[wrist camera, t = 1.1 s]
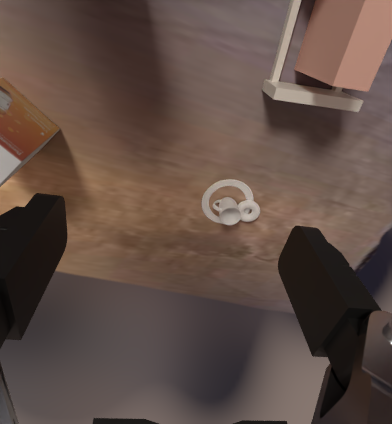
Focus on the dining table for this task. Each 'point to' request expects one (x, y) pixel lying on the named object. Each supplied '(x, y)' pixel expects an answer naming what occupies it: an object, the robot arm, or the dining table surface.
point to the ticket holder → (301, 92)
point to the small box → (20, 130)
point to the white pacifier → (231, 204)
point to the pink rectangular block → (346, 42)
